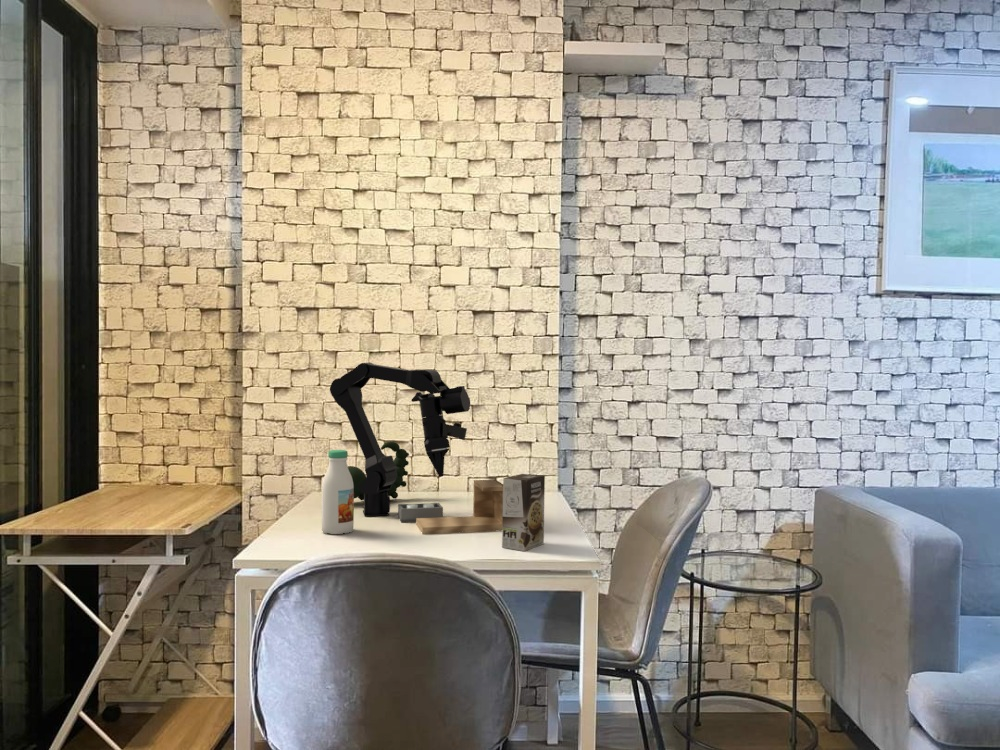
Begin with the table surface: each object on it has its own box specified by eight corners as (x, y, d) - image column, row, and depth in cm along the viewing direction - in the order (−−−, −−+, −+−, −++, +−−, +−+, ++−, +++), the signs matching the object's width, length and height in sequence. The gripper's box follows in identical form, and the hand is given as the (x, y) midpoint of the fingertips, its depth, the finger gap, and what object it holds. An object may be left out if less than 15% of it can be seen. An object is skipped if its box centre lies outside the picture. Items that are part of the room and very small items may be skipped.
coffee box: (525, 551, 176) (526, 480, 175) (501, 547, 179) (501, 477, 179) (545, 543, 184) (546, 474, 183) (521, 540, 187) (522, 472, 187)
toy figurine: (396, 502, 241) (316, 502, 228) (401, 440, 241) (323, 437, 229) (409, 507, 233) (327, 507, 220) (414, 443, 233) (333, 440, 220)
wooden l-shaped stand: (422, 534, 192) (422, 489, 192) (416, 524, 202) (416, 481, 202) (505, 530, 197) (506, 486, 197) (495, 521, 208) (495, 479, 207)
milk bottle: (326, 536, 189) (326, 453, 188) (318, 529, 195) (318, 449, 195) (357, 533, 192) (358, 451, 192) (348, 526, 199) (348, 448, 198)
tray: (401, 522, 205) (401, 507, 205) (398, 517, 211) (398, 503, 211) (442, 520, 207) (442, 506, 207) (438, 515, 214) (438, 501, 214)
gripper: (464, 412, 200) (473, 473, 199) (460, 412, 218) (468, 467, 218) (421, 418, 199) (429, 479, 198) (420, 417, 217) (428, 474, 217)
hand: (440, 475), depth 208 cm, fingers open, 9 cm apart
